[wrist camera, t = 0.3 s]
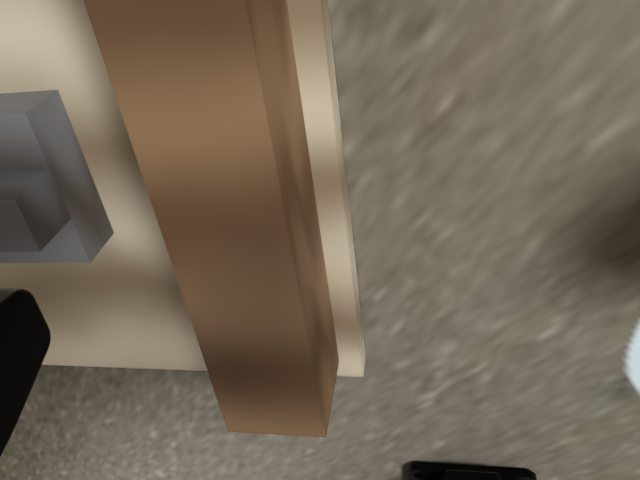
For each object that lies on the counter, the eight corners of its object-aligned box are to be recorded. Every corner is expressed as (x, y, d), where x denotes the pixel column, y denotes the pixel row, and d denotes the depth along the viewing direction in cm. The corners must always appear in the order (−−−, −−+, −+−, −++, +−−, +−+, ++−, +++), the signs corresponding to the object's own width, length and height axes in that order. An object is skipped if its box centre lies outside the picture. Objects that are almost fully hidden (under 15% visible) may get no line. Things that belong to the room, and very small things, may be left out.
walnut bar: (339, 360, 25) (325, 437, 22) (252, 357, 26) (228, 431, 23) (256, -205, 14) (205, -216, 11) (109, -180, 15) (22, -183, 12)
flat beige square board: (365, 357, 27) (353, 454, 23) (27, 346, 30) (-38, 429, 26) (299, -260, 14) (245, -296, 10) (-261, -155, 18) (-472, -151, 14)
